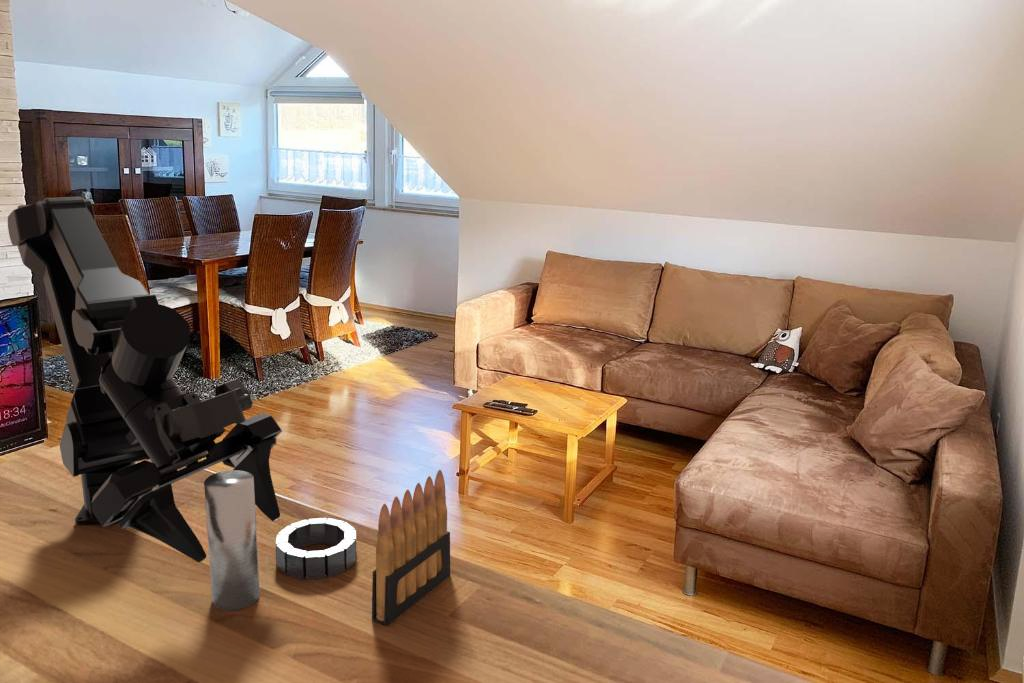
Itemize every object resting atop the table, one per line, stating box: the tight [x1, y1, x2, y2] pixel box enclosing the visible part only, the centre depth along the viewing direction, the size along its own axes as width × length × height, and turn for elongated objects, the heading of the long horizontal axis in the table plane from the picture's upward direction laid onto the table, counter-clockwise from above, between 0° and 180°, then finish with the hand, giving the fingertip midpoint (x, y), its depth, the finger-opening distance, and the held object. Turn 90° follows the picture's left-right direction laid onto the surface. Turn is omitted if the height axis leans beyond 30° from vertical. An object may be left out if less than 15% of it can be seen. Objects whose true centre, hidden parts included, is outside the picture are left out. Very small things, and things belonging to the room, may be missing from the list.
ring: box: [275, 517, 357, 580], centre depth 91 cm, size 8×8×2 cm
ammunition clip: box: [371, 469, 451, 626], centre depth 83 cm, size 11×2×12 cm, turn 150°
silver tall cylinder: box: [203, 469, 261, 612], centre depth 82 cm, size 4×4×12 cm
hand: (241, 538), depth 81 cm, fingers open, 9 cm apart
